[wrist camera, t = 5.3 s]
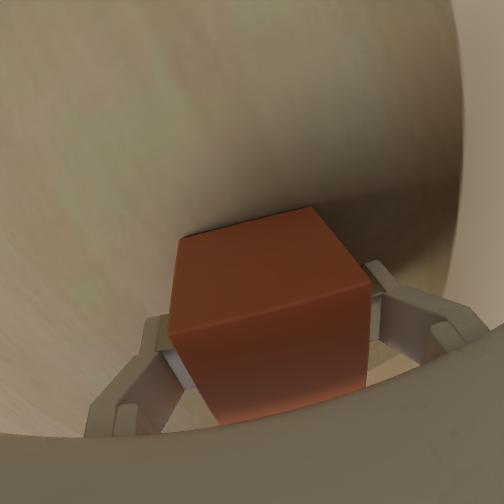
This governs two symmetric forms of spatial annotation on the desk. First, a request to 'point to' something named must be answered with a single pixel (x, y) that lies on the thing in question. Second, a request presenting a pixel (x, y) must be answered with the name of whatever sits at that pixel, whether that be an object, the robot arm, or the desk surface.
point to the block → (270, 316)
